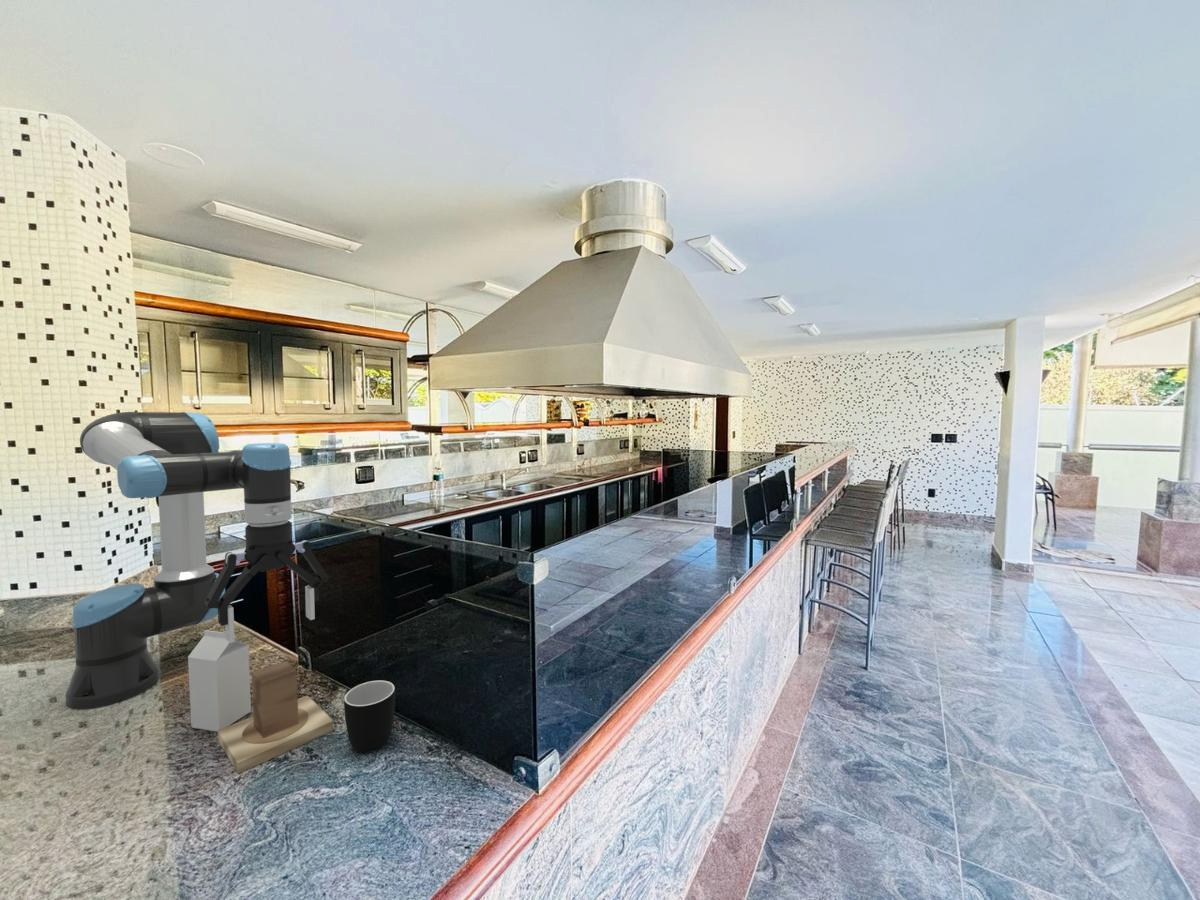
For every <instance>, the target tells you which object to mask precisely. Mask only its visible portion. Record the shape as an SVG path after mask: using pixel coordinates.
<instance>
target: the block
mask: <svg viewBox="0 0 1200 900" xmlns="http://www.w3.org/2000/svg"><path fill="white" fill-rule="evenodd" d="M251 688H252V689H251V690H252V691H251V692H252V693H251V694H252V711H253V712H252V714H253V715H252V717H253V719H254V727H255V728H256V729H257V731H258V732H259V733H260V735H261V736H262V737H263V738H266V737H268V736H270V735H273V734H275V733H277V732H280V731H282V730H284V729H287V728H289V727H291V726H294V725H296V724H298V699H299V698H298V671H297V669H296V668H295V667H294V666H293V665H291V663H289V662H288V660H284V661H281V662H278V663H275V664H272V665H269V666H265V667H263V668H259V669H257V670H254V671H251Z"/></svg>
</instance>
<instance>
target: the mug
mask: <svg viewBox="0 0 1200 900" xmlns="http://www.w3.org/2000/svg"><path fill="white" fill-rule="evenodd" d="M395 689H396V688H395V685H394V684H393V683H392V682H391V681H387V680H371V681H366V682H364V683H361V684H358V685H356V686H354V687H352V688H351V689H349V690H348V692H347V693H346V694H345V696H344V697H343V706H344V719H345V725H346V731H347V737H348V741H349V743H350V746H351V747H352V748H353V750H354V751H355V752H356V753H362V754H367V753H371V752H375V751H377V750H379V749H381V748H382V747H384V746H385V745H386V744H387V743H388V741H389V739H390V738H391V735H392V731H393V730H392V729H393V725H394V717H395V707H396V705H395V704H396V690H395Z"/></svg>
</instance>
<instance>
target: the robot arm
mask: <svg viewBox="0 0 1200 900" xmlns="http://www.w3.org/2000/svg"><path fill="white" fill-rule="evenodd" d="M79 446H80V447H81V451H82V452H83V453H84V454H85V455H86V456H87V457H88V458H90V459H91V460H92V461H94V462H96V463H98V464H103V465H106V466H110V467H112V468H113V469H115V470H116V471H117V472H116V473H117V474H116V476H117V477H116V478H117V484H118V489H120V493H121V495H123V496H124V497H126V498H128V499H141V498H142V499H143V498H146V499H154V498H157V497H158V512H159V515H158V516H159V536H160V556H161V557H160V558H161V571H159V573H157V574H156V575H155V576H154V578H153V584H154V585H153V586H149V587H146V588H145V586H144V585H143V584H141V583H137V582H136V583H128V584H121V585H116V586H111V587H108V588H105V589H102V590H99V591H96V592H94V593H91V594H89V595H87V596H85V597H84V598H82V599H80V600H79V601H77V603H76V604H75V605H74V607H73V610H72V622H71V626H72V628H73V638H74V639H73V640H74V655H75V656H74V657H75V658H74V659H75V668H74V671H73V673H72V677H71V679H70V681H69V684H68V688H67V690H66V691H65V704H66V706H67V707H68V708H71V709H79V710H80V709H81V710H82V709H92V708H94V709H95V708H100V707H104V706H107V705H112V704H116V703H118V702H121V701H122V702H123V701H125V700H128V699H130V698H133V697H135V696H137V695H139V694H141V693H143V692H145V691H147V690H149V689H150V688H152V687H153V686H154V685H155V684H156V683H157V682H159V681H158V680H159V679H160V678H159V676H160V675H159V668H158V666H157V664H156V663H155V661H154V659H153V657H152V655H151V654H150V652H149V651H148V643H147V642H148V638H151V637H154V636H158V635H160V634H162V635H163V634H164V633H169V632H171V631H172V632H173V631H175V630H179V629H182V628H186V627H189V626H195V625H198V624H201V623H204V622H206V621H209V620H212V619H214V618H216V617H217V621H218V623H219V625H220V626H221V627H223V626H224V628H225V630H224V631H225V632H226V640H227V641H228V642H229V643H232V642H235V638H236V637H235V638H234V635H235V618H234V617H235V615H234V607H233V606H232V604H231V603H232V602H233V601H234V600H235V599H236V598H237V596H238V595H239V594H240V593H241V591H242V590H243V589H244V588H245V586H246V585H247V584H248V583H249V582H250V581H251V579H252V578H253V577H255V576H256V575H257V574H258V572H262V573H265V572H269V571H271V570H281V569H282V568H283V567H284V566H286V567H287V568H289V569H291V570H292V571H293V572H294V573H295V574H296V575H298V576H299V577H300V578H302V579H303V581H305V582H306V583H308V585H306V586H304V591H305V596H304V597H305V598H304V599H305V617H306V618H307V619H308V620H310V621H312V620H315V619H316V617H315V614H316V612H315V603H317V602H319V600H320V588H321V586H322V584H324V583H326V582H328V581H329V580H330V577H329V576H328V574H327V573H326V571H325V570H324V568H323V567H322V565H321V563H320V562H319V560H318V559H317V557H316V555H314V553H313V551H312V545H311V542H310V541H308V540H305V539H301V540H300V541H299V542H296V543H294V542H293V523H292V522H291V521H290V520H291V519H292V516H293V515H292V496H291V495H292V492H291V491H292V490H291V489H292V487H291V486H292V485H291V479H292V478H291V465H292V460H291V458H290V457H291V456H290V454H291V453H290V449H289V446H288V445H287V444H285V443H281V442H277V443H275V442H272V443H271V442H263V443H260V442H259V443H255V442H254V443H248V444H245V445H244V446H243V448H242V449H241V450H236V449H234V450H230V451H222V452H221V451H220V452H219V450H220V439H219V435H218V431H217V428H216V426H215V424H214V423H213V421H212V419H211V418H209V417H208V416H207V415H206V414H203V413H199V412H198V413H197V412H186V411H180V412H177V411H176V412H164V411H163V412H160V411H159V412H157V411H153V412H152V411H150V412H149V411H148V412H147V411H144V412H141V411H139V412H138V411H125V412H124V411H123V412H116V413H115V412H114V413H111V414H107V415H104V416H102V417H100V418H97V419H95V420H93V421H91V422H90V423H89V424H88V425H86V426H85V428H84V429H83V430H82V431H81V434H80V438H79ZM236 489H242V490H243V495H244V496H243V497H244V499H243V502H244V523H246V524H247V525H246V526H245V528H244V531H245V532H244V533H245V550H244V552H235V553H234V552H230V551H228V552H226V553H225V555H224V562H223V563H224V565H223V566H222V568H221V569H220V571H219V573H218V572H215V568H214V567H213V566H211V565H210V564H208V563H207V546H206V545H207V544H206V522H205V521H206V519H205V499H204V498H205V497H204V495H205V494H204V493H205V492H217V491H227V490H228V491H229V490H236ZM295 551H297V552H298V553H301V554H302V556H303V558H304V559H305V560H306V562H307V563H308V565H309V567H310V568H311V569H312V571H313V573H314V574H315V575H316V577H313V576H312V575H311V574H310V573H308V572H307V571H306V570H305V569H304V568H302V567H301V566H300V565H298V563H297V562H295V561H294V560H293V559H291V557H292V555H293V554H294V553H295ZM242 560H245V561H246V562H247V564H246V565H245V566H244V568H243V570H242V571H241V572H240V573H239V575H238V576H237V578H236V579H235V580H234V581H233V582H232V584H231V585H230V586H229V587H228V588H227V589H226V586H227V585H228V583H229V582H230V579H231V577H232V575H233V573H234V571H235V570H236V566H238V565H240V563H241V561H242Z"/></svg>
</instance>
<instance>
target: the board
mask: <svg viewBox="0 0 1200 900" xmlns="http://www.w3.org/2000/svg"><path fill="white" fill-rule="evenodd" d="M334 726H335V725H334V719H332V717H330V716H329V714H327V713H326V712H325V711H324V710H323V709H322V708H321V707H320V706H319V705H318V704H317V703H316V702H315V701H314V700H313V699H312V698H311V697H310V696H309V695H305V696H302V697H300V698H298V724H296V725H294V726H291V727H289V728H287V729H284V730H282V731H280V732H277V733H275V734H273V735H270V736H268V737H266V738H263V737H262V736H261V735H260V733H259V732H258V731H257V729H256V728H255V727H254V719H253V716H251V717H248V718H245V719H243V720H240V721H239V722H236V723H235V722H234V723H232V724H231V725H229V726H228V727H225V728H222V729H220V730H217V731H218V732H217V741H218V743H219V745H220V746H221V748H222V750H223V751H224V753H225V754H226V756H227V758H228V760H229V761H230V763H231V765H232V766H233V768H234V770H235V771H236V773H237V774H238V775H239V774H240V773H243V772H246V771H248V770H249V769H252V768H254V767H257V766H258V765H261V764H263V763H265V762H267V761H269V760H271V759H274V758H276V757H278V756H281V755H282V754H283V755H284V754H285V753H288V752H290V751H291V750H293V749H296V748H297V747H300V746H302V745H305V744H306V743H309V742H310V741H312V740H315V739H317V738H319V737H322V736H323V735H326V734H328V733H330V732H333V731H334V728H335V727H334Z"/></svg>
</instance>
